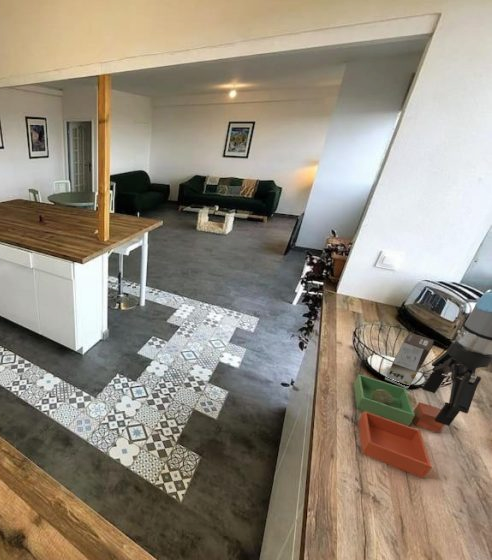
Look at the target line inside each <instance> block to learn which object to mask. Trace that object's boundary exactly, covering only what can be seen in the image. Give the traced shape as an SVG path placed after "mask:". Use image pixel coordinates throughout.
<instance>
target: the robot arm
mask: <svg viewBox="0 0 492 560" xmlns="http://www.w3.org/2000/svg"><path fill="white" fill-rule="evenodd" d="M474 304H475V305H474V307H473V308H472V310H471V312H470V313H469V315H468V317H467V319H466V320H465V322H464V323H463V325H462V326H461V328H460V330H459V329H458V330H456V334H457V335H456V336H455V339H453V340H452V342H451V343H450V344H449V347H448V348H447V350H446V351H445V352H444V353H443V354H442V355H440V356H439V357H438V358H436V359H434V361H432V363H431V366H432V367H433V368H432V371H431V373H430V375H429V376H428V378H427V380H426V381H425V383H424V384H423V386H422V387H421V389H422V391H426V392H429V393H432V394H436V392H437V391H438V389H439V388H440V386H441V385H442V383H443V382H444V380H445V379H446V376H448V375H449V373H451V375H450V380H451V382H452V384H451V390H450V396H449V401H448V402H447V401H446V402H444V405H443V407H442V408H440V409H441V411H440V412H439V414H438V415H437V416H436V418H435V421H436V422H439V423H442V424H445V425H444V426H448V427H450V425H451V424H452V423H453V421H454V420H455V419H456V417H457V416H458V415H459V413H460V412H461V413H464V414H468V413H469V411H470V409H471V405H472V403H473V400H474V396H475V394H476V390H477V387H478V386H479V383H480V382H481V381H482V377H481V376H480V375H479V376H478V375H476V371H477V369H480V368H488V367H489V366H490V365H491V363H492V289H488V290H486V291H485V292H484V293H483V294H482V295H481V297H480V298H479V299H478V300H477V302H476V303H474Z"/></svg>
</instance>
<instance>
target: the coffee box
mask: <svg viewBox="0 0 492 560" xmlns="http://www.w3.org/2000/svg"><path fill="white" fill-rule="evenodd" d="M434 342H435V340H434V339H431V338H428V337H426V336H422V335H418V334H415V333H413V332H408V334H407V336H406V337H405V339H404V340H403V342H402V344H401V346H400V348H399V350H398V352H397V354H396V356H395V358H394V360H393V362H392V363H391V366H390V368H389V370H388V371H387V373H386V376H387V377H389V378H391V379H394V380H396V381H399V382H402V383H405V384H407V385H409V386H405V385H402V384H400V383H397V382H395V381H393V380H390V379H388V378H386V376H385V377H384V380H385V381H387V382H390V383H391V384H392V383H393V384H394V385H396V386H399V387H402V388H405V389H406V390H408V389H409V388H410V386H411V384H412V382H414V379H415V378H416V376H417V374H418V373H419V371H420V369H421V368H422V366H423V364H424V362H425V361H426V360H427V357H428V355H430V352H431V350H432V347H433V344H434Z"/></svg>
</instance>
